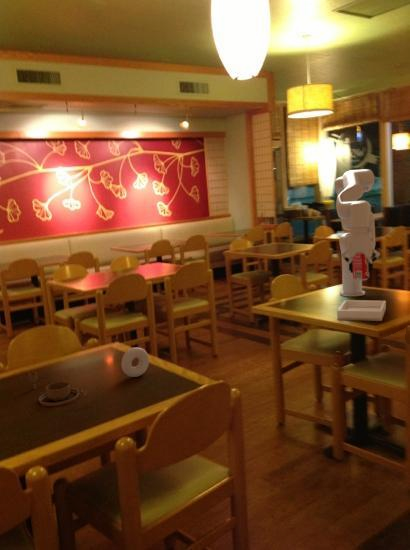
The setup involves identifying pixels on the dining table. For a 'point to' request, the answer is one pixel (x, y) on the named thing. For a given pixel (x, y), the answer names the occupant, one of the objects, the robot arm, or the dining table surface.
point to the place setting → (56, 391)
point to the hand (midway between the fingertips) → (361, 272)
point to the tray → (361, 310)
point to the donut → (141, 365)
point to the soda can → (360, 266)
